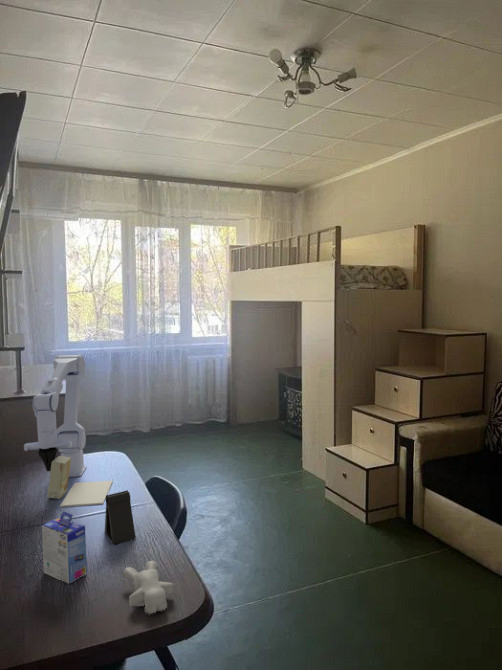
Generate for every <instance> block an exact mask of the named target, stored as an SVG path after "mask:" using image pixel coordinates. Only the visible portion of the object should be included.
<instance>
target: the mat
mask: <svg viewBox="0 0 502 670" xmlns="http://www.w3.org/2000/svg"><path fill="white" fill-rule="evenodd" d="M113 483H114V482H113V480H105V481H104V480H101V481H85V482H83V481H82V482H74V484H73V485H72V487H71V488H70V490H69V492H67V493H66V494H67V495H65V498H64V499H63V501H62V502H61V504H60V508H67V507H80V506H81V507H82V506H97V505H98V506H99V505H104V503H105V502H106V495H109V492H110V490H111V487H112V485H113Z"/></svg>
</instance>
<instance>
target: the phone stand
mask: <svg viewBox="0 0 502 670" xmlns="http://www.w3.org/2000/svg"><path fill="white" fill-rule="evenodd" d="M131 502H132V501H131V494H130V491H129V490H128V489H127V490H124V491H120V492H115V493H110V494H107V495H106V499H105V515H104V516H105V517H104V533H105V534H106V536H107V537H108V538H109V540H110V542H111V541H112V542H111V543H112V545H113V544H114V545H113V546H115V545H118V543H119V544H122V543H124V541H126V542H128V541H127V540H129V541H131V540H130V539H132V540H135V539H134V538H136V537H137V536H136V532H135V530H136V529H135V524H134V518H133V517H134V516H133V510H132V503H131ZM136 539H137V538H136ZM121 542H122V543H121Z"/></svg>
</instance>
